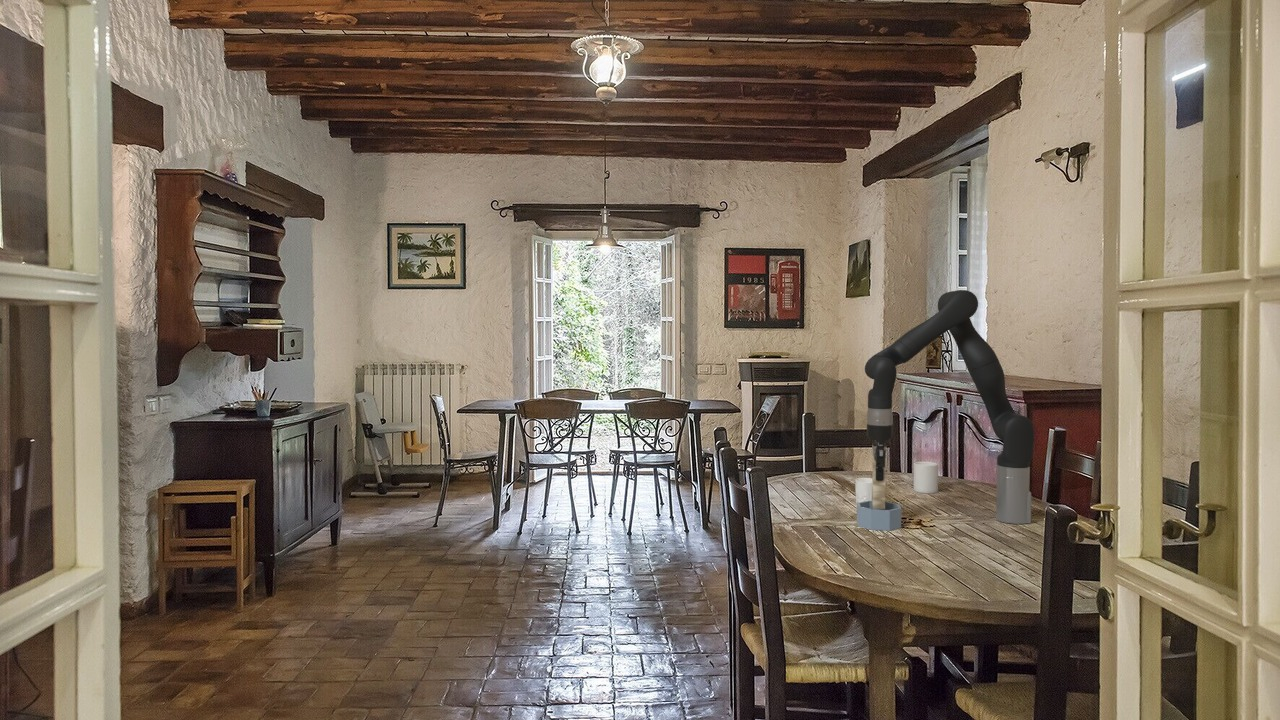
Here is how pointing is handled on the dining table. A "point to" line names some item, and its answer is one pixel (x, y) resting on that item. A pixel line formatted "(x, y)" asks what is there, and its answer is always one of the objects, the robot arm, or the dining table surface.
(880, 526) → the blue octagonal holder
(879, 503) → the tan square peg
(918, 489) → the mug
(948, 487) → the dining table surface
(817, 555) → the dining table surface
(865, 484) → the white cup
